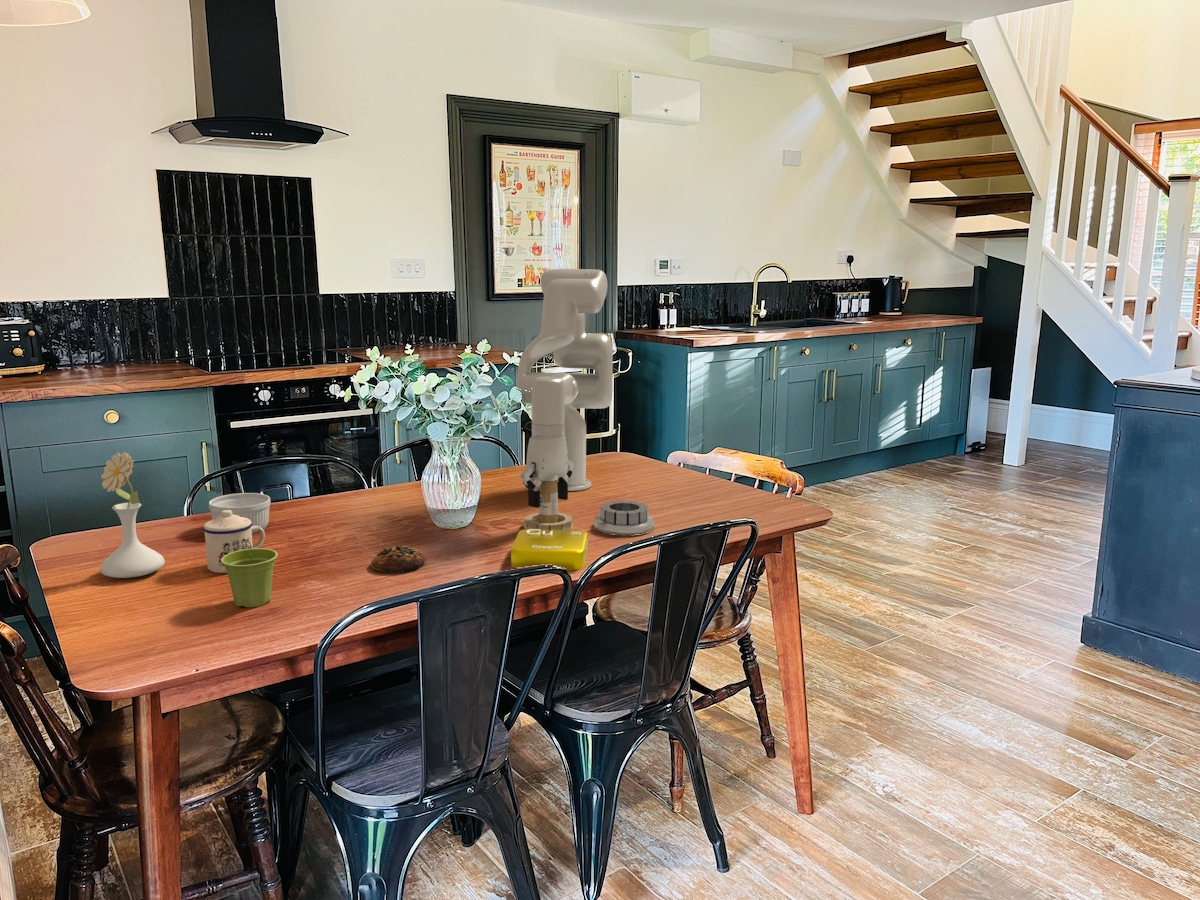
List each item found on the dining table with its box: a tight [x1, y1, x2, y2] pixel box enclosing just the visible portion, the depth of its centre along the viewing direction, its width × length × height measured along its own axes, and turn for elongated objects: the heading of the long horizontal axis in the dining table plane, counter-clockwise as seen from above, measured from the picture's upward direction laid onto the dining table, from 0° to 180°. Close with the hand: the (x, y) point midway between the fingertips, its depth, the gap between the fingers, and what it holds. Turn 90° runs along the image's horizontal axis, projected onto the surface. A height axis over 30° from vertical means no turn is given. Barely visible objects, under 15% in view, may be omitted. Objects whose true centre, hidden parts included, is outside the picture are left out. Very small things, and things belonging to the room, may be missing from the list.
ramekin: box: [208, 492, 272, 534], centre depth 203 cm, size 13×13×7 cm
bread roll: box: [370, 544, 426, 574], centre depth 180 cm, size 11×11×5 cm
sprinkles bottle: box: [538, 475, 559, 523], centre depth 207 cm, size 5×5×14 cm
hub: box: [593, 500, 655, 535], centre depth 207 cm, size 14×14×5 cm
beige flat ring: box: [523, 512, 574, 531], centre depth 208 cm, size 11×11×2 cm
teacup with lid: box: [202, 510, 266, 574], centre depth 178 cm, size 12×9×12 cm
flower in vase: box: [99, 451, 166, 579], centre depth 171 cm, size 13×11×25 cm
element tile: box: [510, 528, 589, 571], centre depth 185 cm, size 15×15×5 cm
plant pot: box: [221, 547, 279, 608], centre depth 159 cm, size 9×9×9 cm
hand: (548, 502), depth 206 cm, fingers open, 9 cm apart
